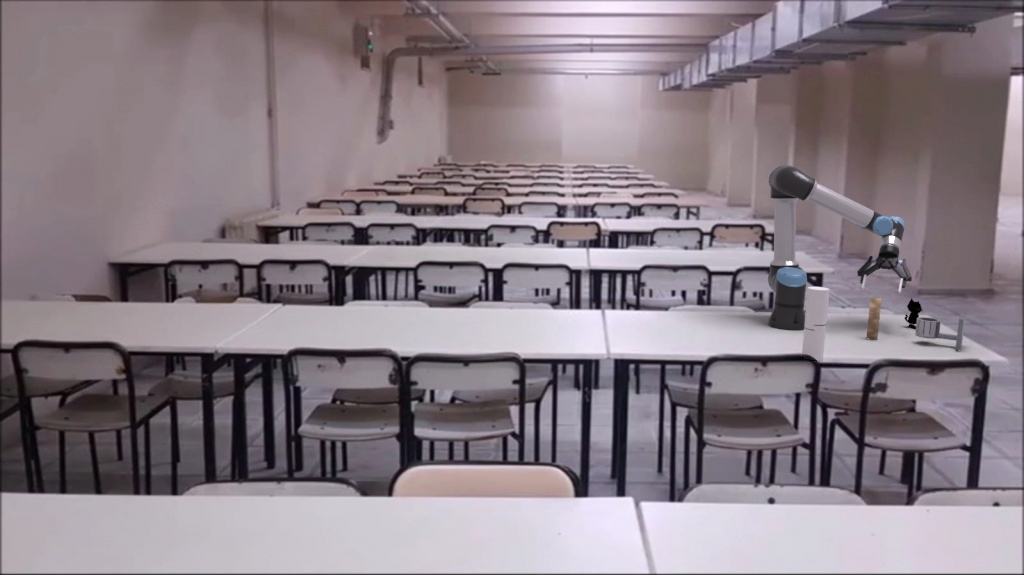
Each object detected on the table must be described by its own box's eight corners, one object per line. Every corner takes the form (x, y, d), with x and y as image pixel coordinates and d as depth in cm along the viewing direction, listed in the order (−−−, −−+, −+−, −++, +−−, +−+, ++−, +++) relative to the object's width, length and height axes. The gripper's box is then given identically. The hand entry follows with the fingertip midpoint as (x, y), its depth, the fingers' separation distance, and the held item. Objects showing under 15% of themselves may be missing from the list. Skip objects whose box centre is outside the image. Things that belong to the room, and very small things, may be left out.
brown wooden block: (865, 339, 351) (869, 298, 348) (867, 337, 354) (871, 297, 352) (876, 340, 349) (880, 299, 346) (878, 338, 352) (882, 298, 350)
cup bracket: (912, 345, 343) (916, 314, 341) (916, 339, 353) (919, 309, 351) (959, 351, 335) (963, 319, 333) (961, 345, 345) (965, 314, 343)
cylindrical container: (824, 361, 313) (830, 290, 309) (802, 360, 315) (809, 289, 310) (821, 356, 320) (827, 287, 316) (800, 355, 322) (806, 286, 317)
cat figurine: (924, 329, 371) (927, 301, 369) (908, 329, 371) (911, 300, 369) (915, 325, 378) (918, 297, 376) (899, 325, 378) (903, 297, 376)
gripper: (923, 258, 364) (915, 300, 354) (857, 252, 376) (848, 293, 366) (923, 246, 359) (915, 289, 349) (856, 241, 371) (847, 282, 361)
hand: (880, 291), depth 357 cm, fingers open, 13 cm apart
